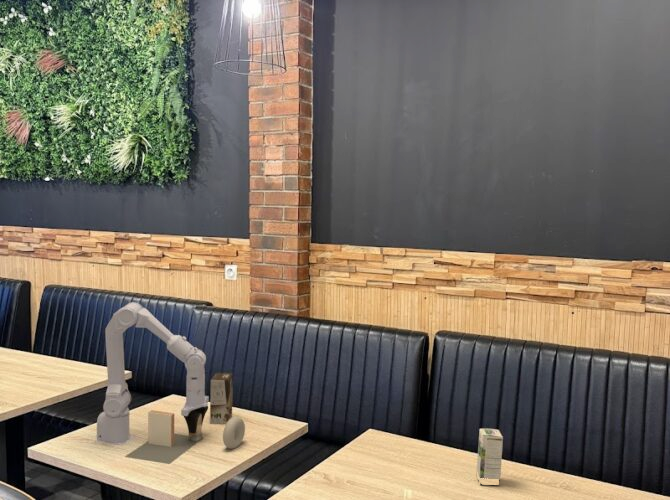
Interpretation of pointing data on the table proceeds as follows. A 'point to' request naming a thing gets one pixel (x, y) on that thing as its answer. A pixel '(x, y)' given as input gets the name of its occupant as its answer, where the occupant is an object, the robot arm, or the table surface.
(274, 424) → the table surface
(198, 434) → the wooden block
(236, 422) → the grey round disc
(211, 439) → the table surface
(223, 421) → the coffee box
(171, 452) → the mat
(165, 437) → the tile
